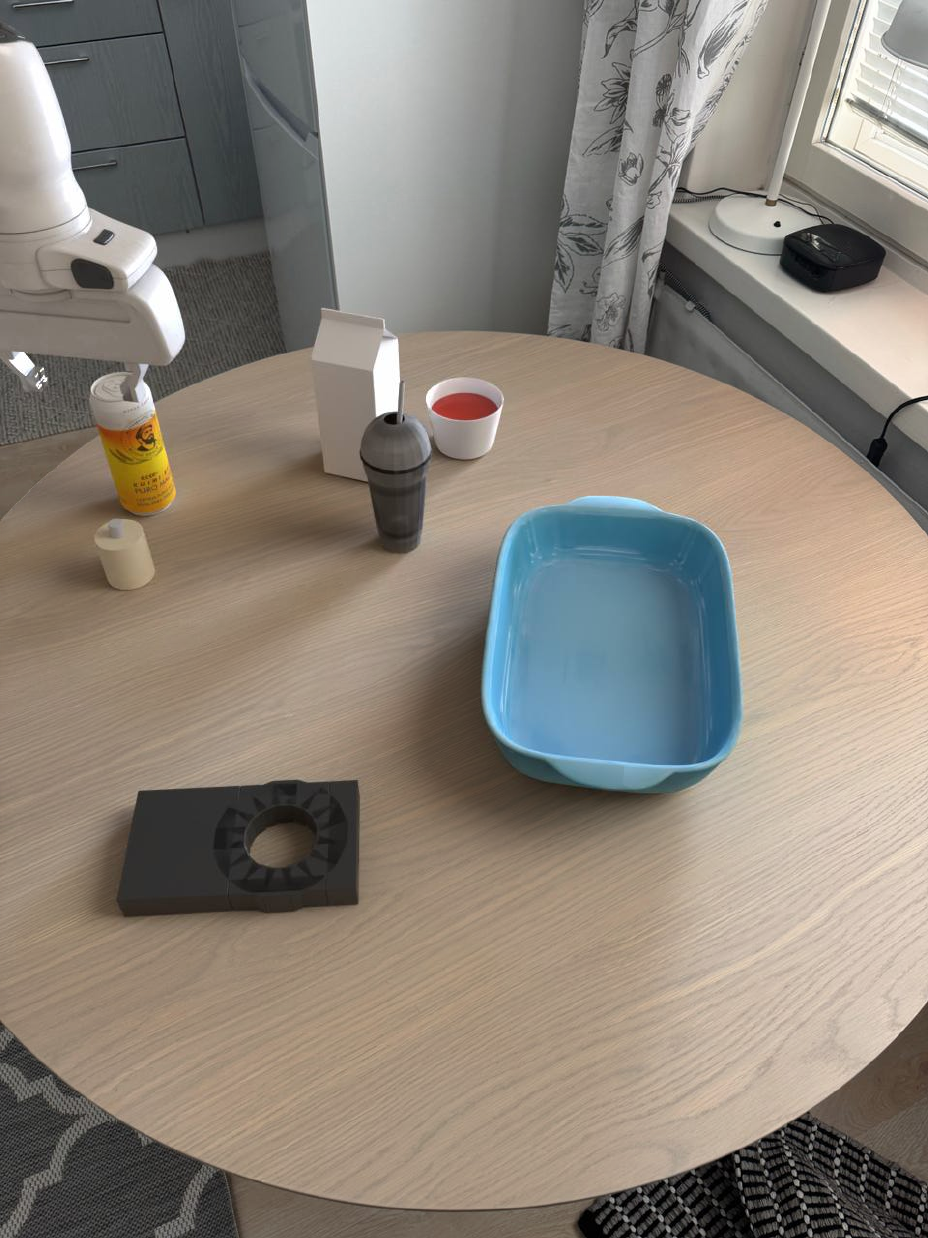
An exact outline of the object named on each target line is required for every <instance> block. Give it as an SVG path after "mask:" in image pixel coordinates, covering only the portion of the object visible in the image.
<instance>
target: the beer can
mask: <svg viewBox="0 0 928 1238" xmlns="http://www.w3.org/2000/svg"><path fill="white" fill-rule="evenodd" d="M132 373H133V372H130V371H117V372H111V373H108V374H105V375H103V376H101V377H99V378H97V379H95V380H94V382H92V384H91V386H90V389H89V390H90V394H89V399H88V401H89V404H90V408H91V411H92V415H93V419H94V421H95V424H96V429H97V430H98V434H99V436H100V440H101V443H102V447H103V450H104V453H105V456H106V460H107V463H108V467H109V469H110V474H111V476H112V480H113V483H114V486H115V489H116V492H117V495H118V499H119V502H120V504H121V506H122V507H123V508H124V509H125V510H126V511H128V512H130V513H132V514H134V515H136V516H142V517H149V516H155V515H158V514H160V513H163V512H164V511H166V510H167V509H168V508H169V507H170V506H171V505H172V503H173V501H174V499H175V498H176V496H177V495H176V494H177V490H176V486H175V483H174V479H173V475H172V471H171V466H170V463H169V459H168V455H167V451H166V446H165V443H164V439H163V435H162V432H161V427H160V423H159V419H158V415H157V412H156V408H155V404H154V403H155V402H154V400H153V396H152V391H151V389H150V387H149V386H148V384H147V383H146V382H145V381H144V384H145V388H146V396H145V398H144V399H143V400H142V402H141V403H136V402H128V401H124V400H123V398H122V397H123V394H122V393H121V391H120V387H119V386H120V385H121V383H122V382H124V381H125V380H124V379H125V378H126V377H127V376H132Z"/></svg>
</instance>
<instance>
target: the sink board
mask: <svg viewBox="0 0 928 1238" xmlns="http://www.w3.org/2000/svg"><path fill="white" fill-rule="evenodd" d="M360 815H361V794H360V786H359V780H357V779H348V780H330V781H329V780H328V781H310V782H309V781H305V780H301V779H283V780H281V779H280V780H270V781H268V782H266V783H264V784H247V785H245V784H243V785H228V786H226V785H225V786H208V787H207V786H206V787H188V788H187V787H185V788H166V789H165V788H164V789H146V790H145V789H144V790H143V789H142V790H138V791H137V795H136V800H135V805H134V811H133V815H132V821H131V825H130V826H131V827H130V831H129V835H128V840H127V846H126V850H125V855H124V859H123V865H122V870H121V875H120V880H119V886H118V891H117V896H116V903H117V905H118V908H119V909H120V911H121V914H122V915H123V917H124V918H128V917H129V918H130V917H145V916H161V915H162V916H164V915H165V916H166V915H182V914H183V915H184V914H202V913H218V912H222V913H223V912H240V911H243V912H244V911H260V912H263V913H266V914H271V913H290V912H297V911H298V910H301V909H303V908H311V907H312V908H313V907H314V908H317V907H328V906H329V907H334V906H348V905H349V906H351V905H359V901H360V900H359V899H360V898H359V897H360V894H359V893H360V891H359V890H360V829H361V827H360V825H361V824H360V822H361V821H360V818H361V817H360ZM281 823H283V824H284V823H296V824H299V825H303V826H306V827H307V828H308V829H309V830H311V831H312V833H314V834H315V836H316V839H315V842H314V845H313V846H312V848H311V850H310V851H309V852H308V853H307V854H306V855H305V856H304V857H303V858H302V859H300V860H299V861H297V862H294V863H291V864H289V865H286V866H277V867H271V866H268V865H265V864H261V863H258V861H256V859H254V858H253V857H252V856H251V848H252V846H253V844H254V842H255V841H256V839H257V837H258V836H259V835H260V834H262V833H263V832H265V830H267V829H268V828H270V827H272V826H276V825H278V824H281Z"/></svg>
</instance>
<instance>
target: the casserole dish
mask: <svg viewBox="0 0 928 1238" xmlns="http://www.w3.org/2000/svg"><path fill="white" fill-rule="evenodd" d="M734 593H735V592H734V585H733V577H732V570H731V565H730V560H729V556H728V553H727V551H726V548H725V546H724V545H723V542H722V541H721V539H720V538H719V537H718V536H717V534H716V533H715V532H714V531H713V530H711V529H710V528H709V527H707V526H706V525H705V524H703V523H701V521H700V522H699V521H697V520H695V519H693V518H690V517H687V516H683V515H680V514H676V513H672V512H667V511H664V510H662V509H660V508H658V507H657V506H654V505H652V504H651V503H648V502H646V501H644V500H641V499H636V498H631V497H626V496H625V497H624V496H616V495H615V496H614V495H587V496H586V495H585V496H581V497H578V498H576V499H573V500H571V501H569V502H567V503H563V504H554V505H553V504H552V505H551V504H550V505H544V506H539V507H538V506H537V507H536V508H533V509H529V510H527V511H525V512H523V513H522V514H520V515H519V516H518V517H516V518H515V519H514V520H513V521H512V522H511V524H510V525H509V526H508V528H507V529H506V531H505V533H504V535H503V537H502V540H501V543H500V546H499V550H498V554H497V558H496V562H495V569H494V574H493V582H492V588H491V594H490V595H491V597H490V604H489V611H488V617H487V623H486V632H485V641H484V650H483V655H482V656H483V657H482V664H481V665H482V666H481V678H480V680H481V681H480V697H481V698H480V699H481V708H482V712H483V717H484V719H485V723H486V726H487V727H488V729H489V730H490V733H491V734H492V736H493V738H494V740H495V743H496V745H497V747H498V748H499V750H500V752H501V754H502V755H503V757H504V758H505V760H507V762H508V763H509V764H510V765H511V766H512V767H513V768H514V769H516V770H517V771H518V772H519V773H521V774H523V775H525V776H527V777H529V778H531V779H535V780H538V781H541V782H545V783H552V784H558V785H565V786H572V787H579V788H589V789H594V790H600V791H610V792H624V793H635V794H668V793H675V792H676V793H677V792H679V791H683V790H685V789H687V788H690V787H693V786H695V785H697V784H699V783H700V782H702V781H703V780H704V779H705V778H707V777H708V776H709V775H710V774H711V773H712V772H713V771H714V770H716V768H718V766H719V765H721V764H722V763H723V762H724V761H725V760H726V759H727V758H728V757H729V756H730V755H731V753H732V752H733V750H734V749H735V746H736V745H737V743H738V740H739V737H740V735H741V730H742V725H743V713H744V712H743V711H744V700H743V699H744V698H743V697H744V696H743V695H744V694H743V677H742V666H741V658H740V646H739V636H738V624H737V614H736V603H735V594H734Z"/></svg>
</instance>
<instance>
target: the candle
mask: <svg viewBox="0 0 928 1238" xmlns="http://www.w3.org/2000/svg"><path fill="white" fill-rule="evenodd" d="M425 404H426V409H427V412H428V417H429V421H430V426H431V429H432V434H433V439H434V443H435V445H436V447H437V449H438V451H439V452H440V453H442V454H444V455H445V456H446V457H449V458H451V459H456V460H473V459H477V458H480V457H483V456H484V455H486V454H488V453H489V451H491V449H492V448H493V445H494V442H495V438H496V434H497V430H498V427H499V422H500V418H501V414H502V410H503V406H504V395H503V392H502V391H501V390H500V389H499V388H498V387H497V386H496V385H494V384H493V383H491V382H489V381H486V380H483V379H479V378H476V377H475V378H474V377H454V378H449V379H445V380H443V381H440V382H438V383H436V384H435V385H433V386H432V387H431V388H430V389H429V390H428V391H427V393H426V396H425Z"/></svg>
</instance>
